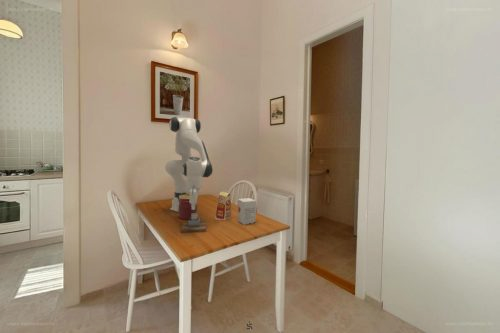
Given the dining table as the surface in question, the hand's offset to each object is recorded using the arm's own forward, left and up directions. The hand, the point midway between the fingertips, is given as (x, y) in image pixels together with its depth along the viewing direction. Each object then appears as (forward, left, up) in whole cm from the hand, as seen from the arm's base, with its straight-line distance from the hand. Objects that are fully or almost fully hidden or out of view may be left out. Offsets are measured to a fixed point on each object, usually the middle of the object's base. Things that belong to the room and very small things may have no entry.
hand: (193, 207), depth 131 cm
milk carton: (-17, +19, -13) cm, 28 cm away
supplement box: (-7, +33, -13) cm, 36 cm away
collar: (0, 0, -11) cm, 11 cm away
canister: (-23, -6, -13) cm, 27 cm away
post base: (0, 0, -13) cm, 13 cm away
